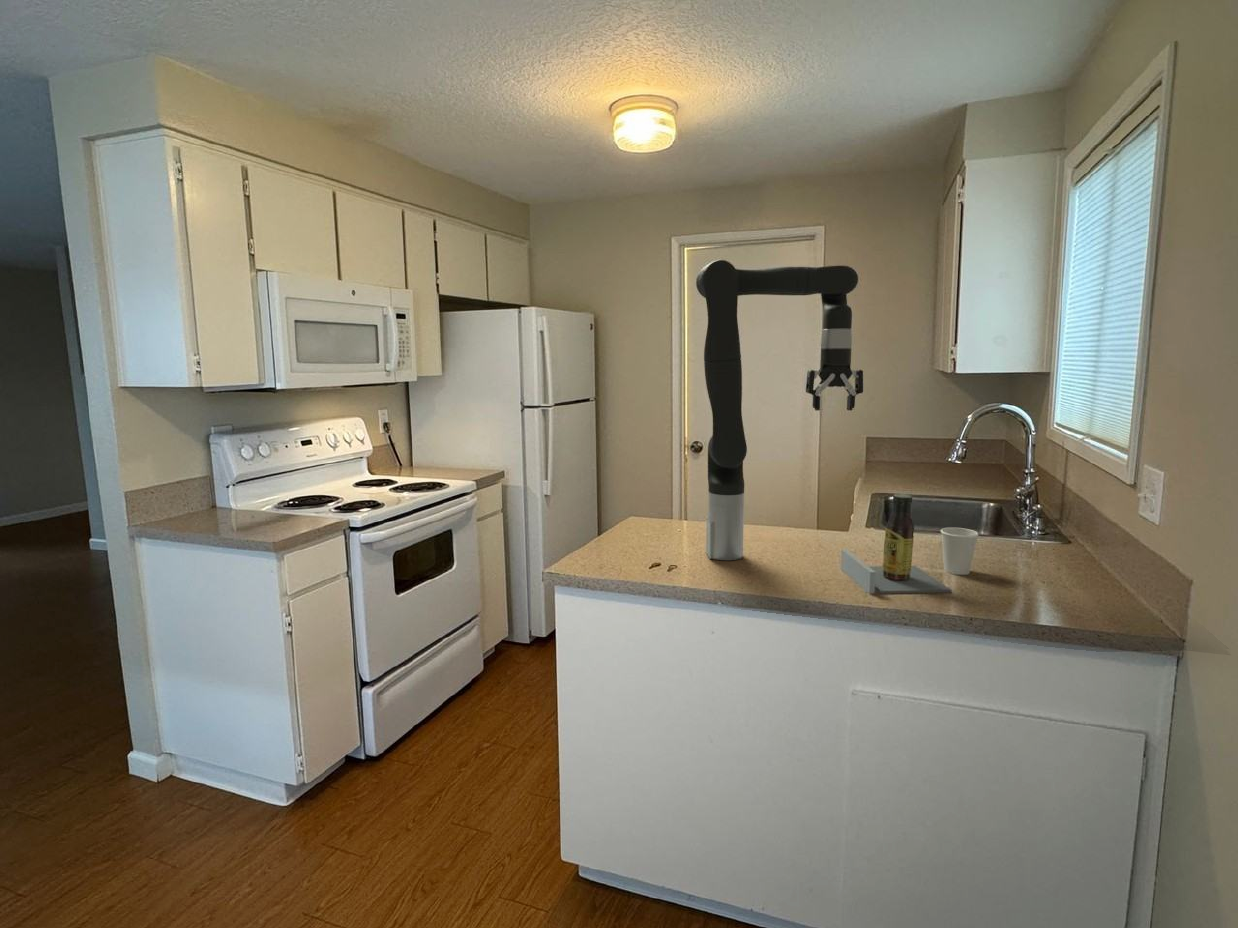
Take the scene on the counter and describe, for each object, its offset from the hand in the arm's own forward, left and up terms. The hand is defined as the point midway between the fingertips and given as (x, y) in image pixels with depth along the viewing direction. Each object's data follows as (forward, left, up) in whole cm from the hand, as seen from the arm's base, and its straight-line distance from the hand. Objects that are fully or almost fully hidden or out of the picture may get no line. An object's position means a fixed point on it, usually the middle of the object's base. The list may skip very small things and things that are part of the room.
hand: (833, 410), depth 184 cm
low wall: (-1, -24, -38) cm, 45 cm away
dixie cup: (+26, -18, -38) cm, 50 cm away
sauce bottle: (+9, -24, -38) cm, 45 cm away
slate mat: (+9, -24, -38) cm, 46 cm away
